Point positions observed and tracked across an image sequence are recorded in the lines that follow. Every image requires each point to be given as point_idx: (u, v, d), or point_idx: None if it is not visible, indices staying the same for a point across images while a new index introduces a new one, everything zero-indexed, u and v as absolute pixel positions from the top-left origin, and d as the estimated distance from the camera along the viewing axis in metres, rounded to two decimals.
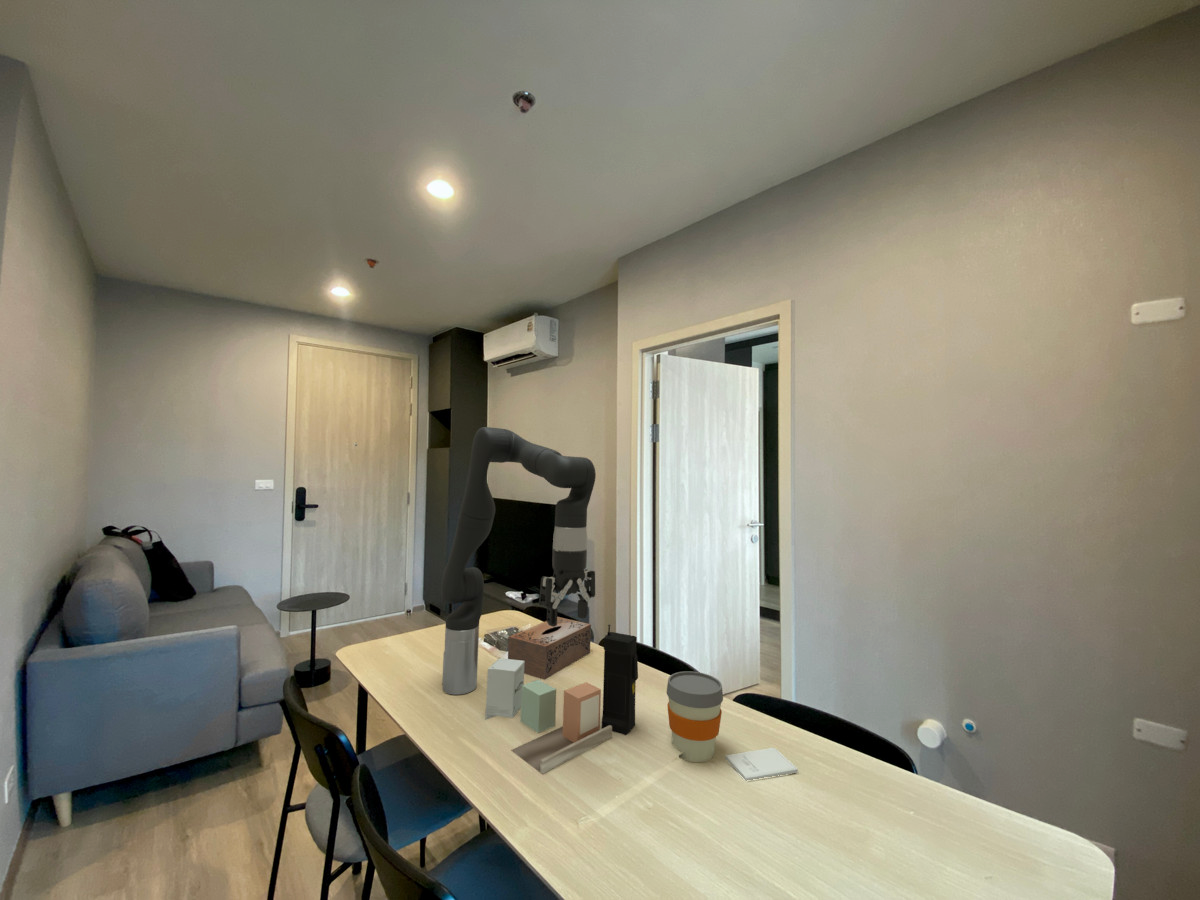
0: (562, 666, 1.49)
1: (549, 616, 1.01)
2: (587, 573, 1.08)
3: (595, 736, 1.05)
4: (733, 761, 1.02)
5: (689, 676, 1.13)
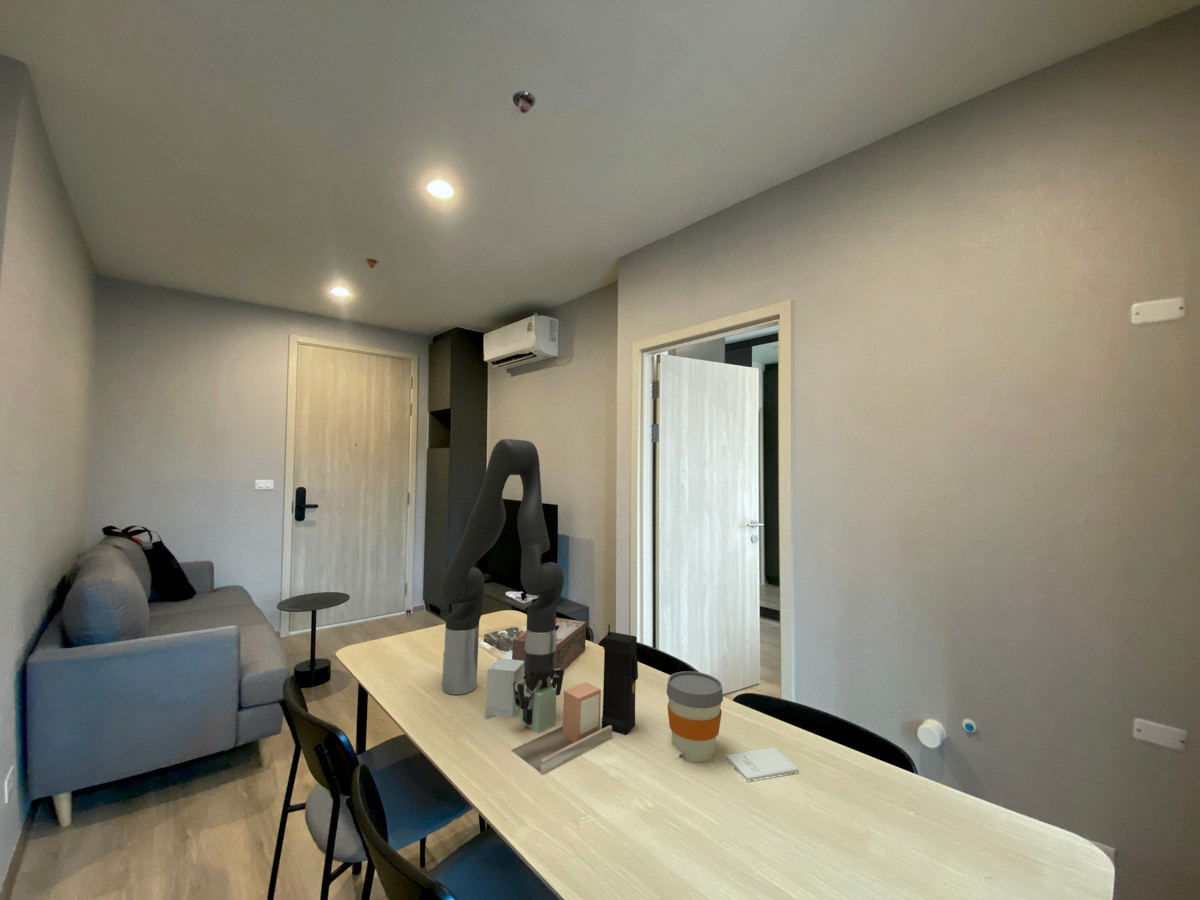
0: (566, 665, 1.50)
1: (525, 716, 1.11)
2: (557, 671, 1.18)
3: (595, 736, 1.05)
4: (734, 761, 1.02)
5: (689, 676, 1.13)
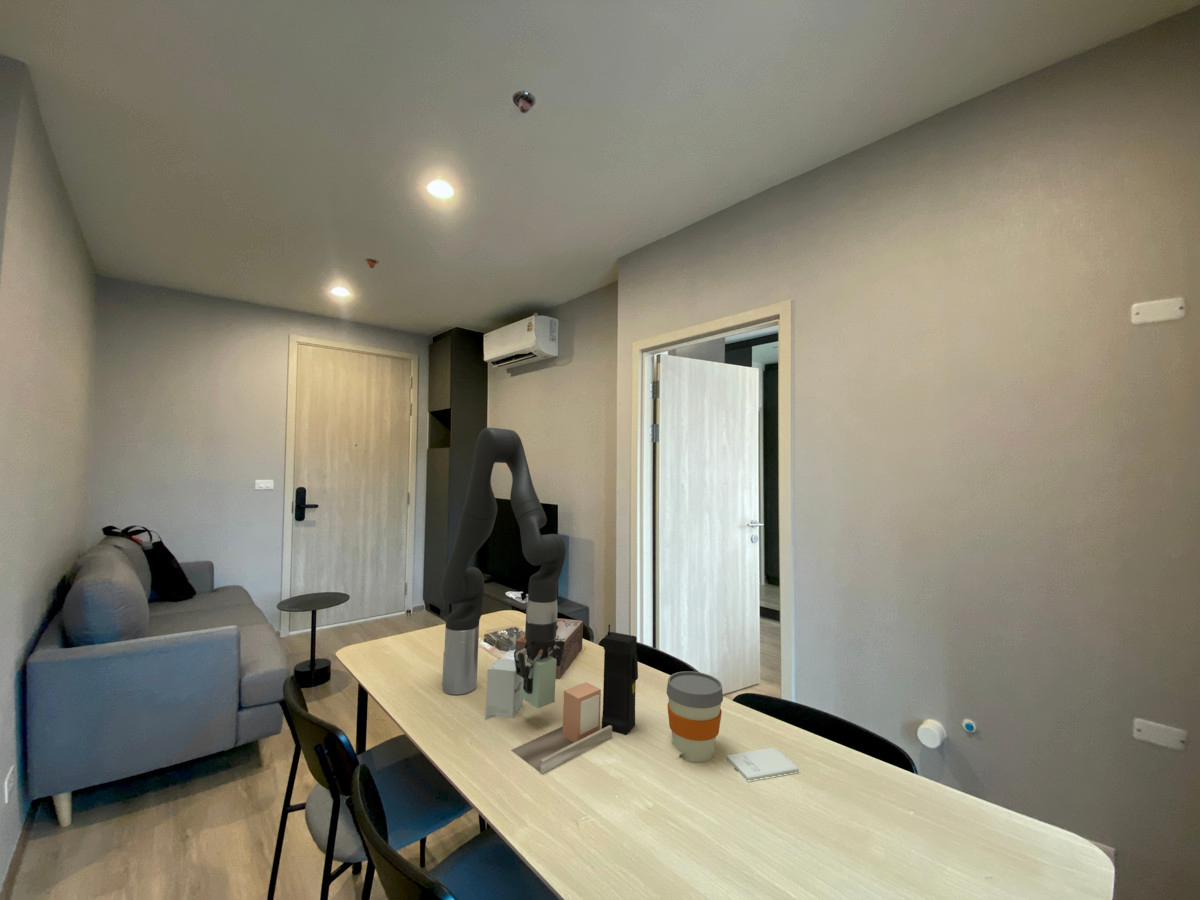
0: (568, 664, 1.51)
1: (525, 685, 1.12)
2: (557, 642, 1.18)
3: (595, 736, 1.05)
4: (734, 761, 1.02)
5: (689, 676, 1.13)
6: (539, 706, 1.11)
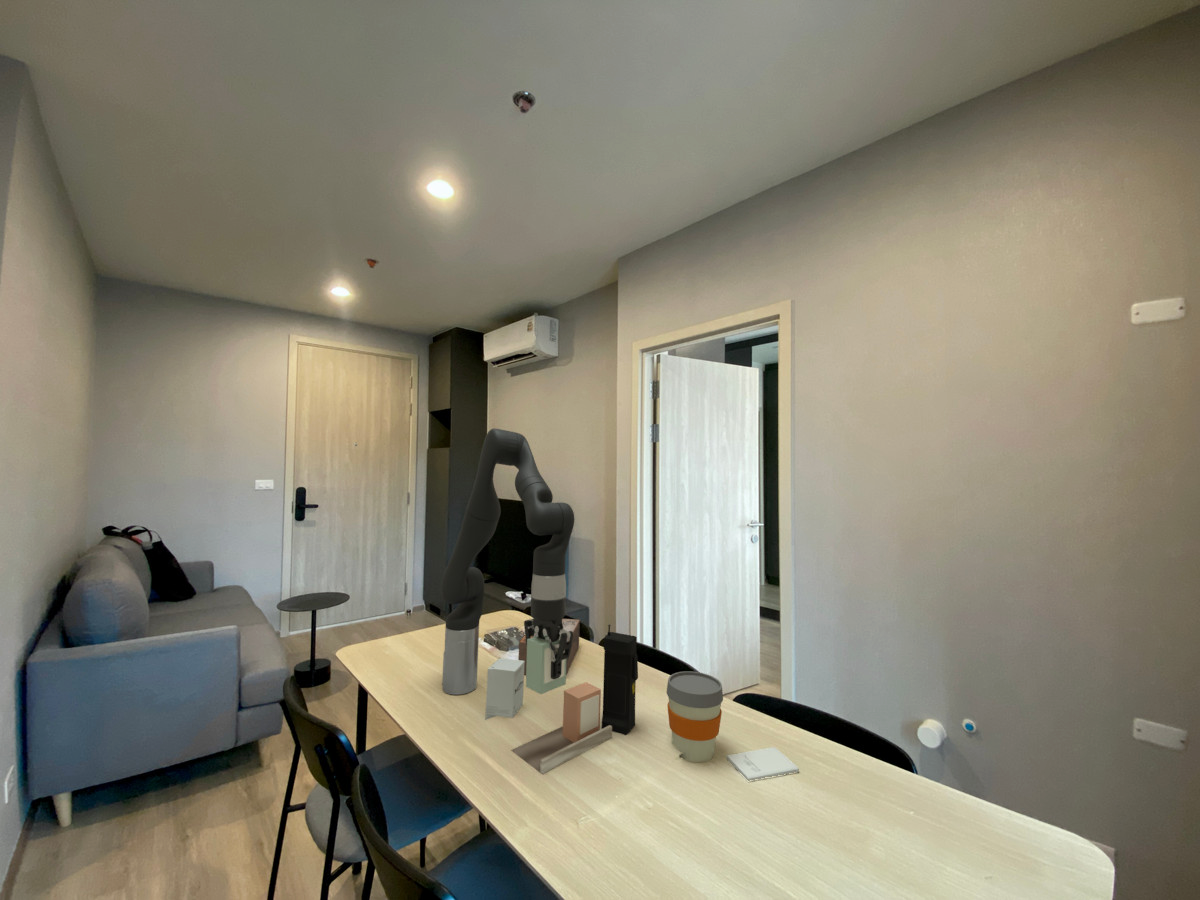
0: (570, 663, 1.52)
1: None
2: (562, 632, 1.00)
3: (595, 736, 1.05)
4: (734, 761, 1.02)
5: (689, 676, 1.13)
6: (527, 685, 1.02)
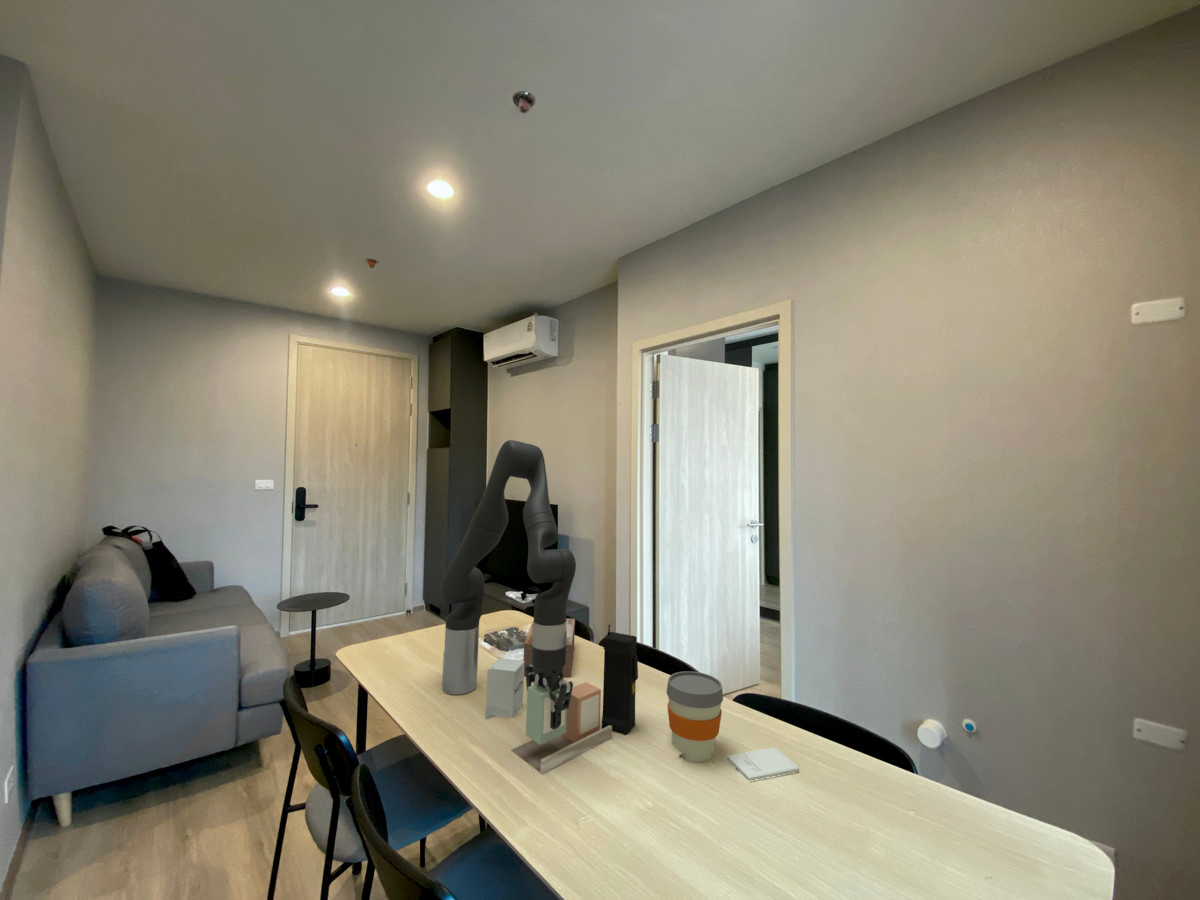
0: None
1: None
2: (561, 683, 0.99)
3: (595, 736, 1.05)
4: (735, 761, 1.02)
5: (689, 676, 1.13)
6: (527, 734, 1.02)
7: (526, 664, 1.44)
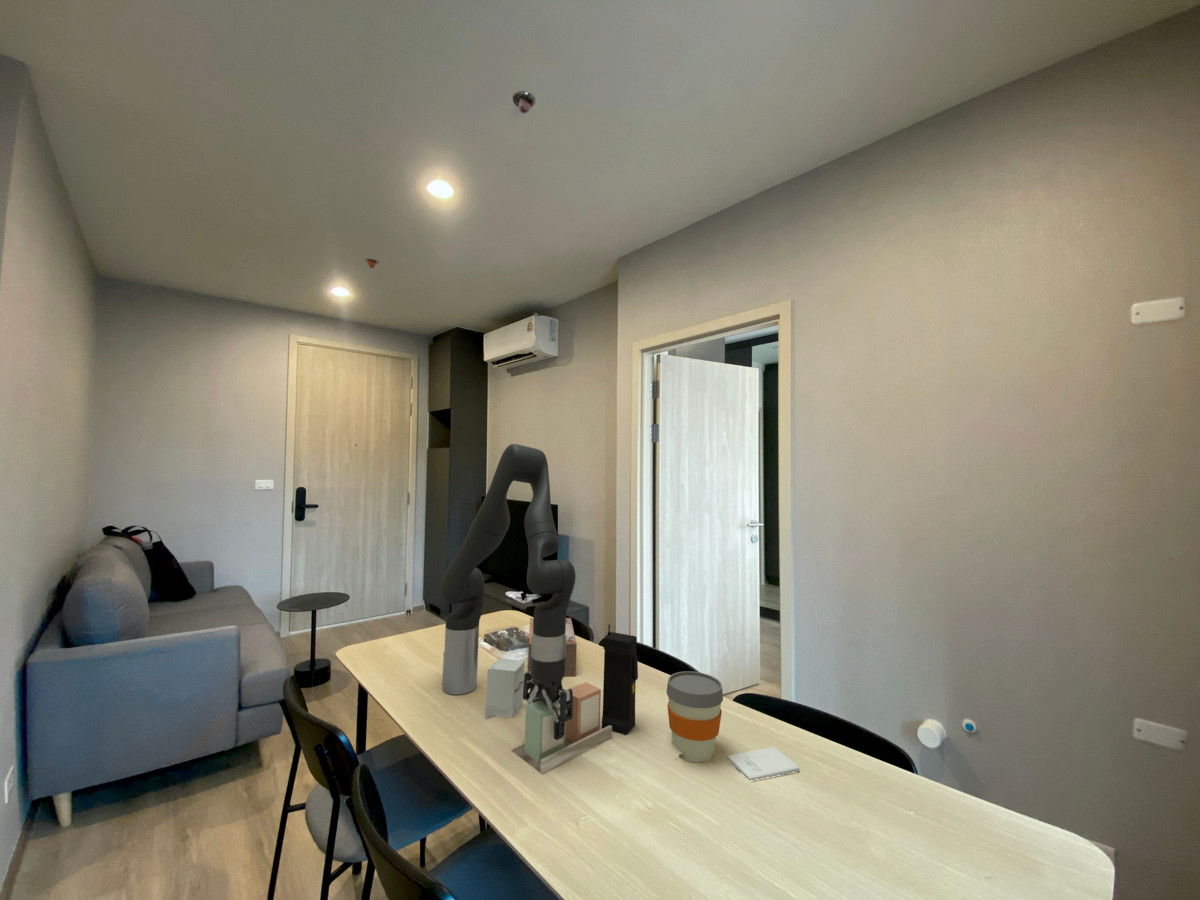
0: None
1: None
2: (561, 692, 0.99)
3: (595, 736, 1.05)
4: (735, 761, 1.02)
5: (689, 676, 1.13)
6: (525, 752, 1.01)
7: None
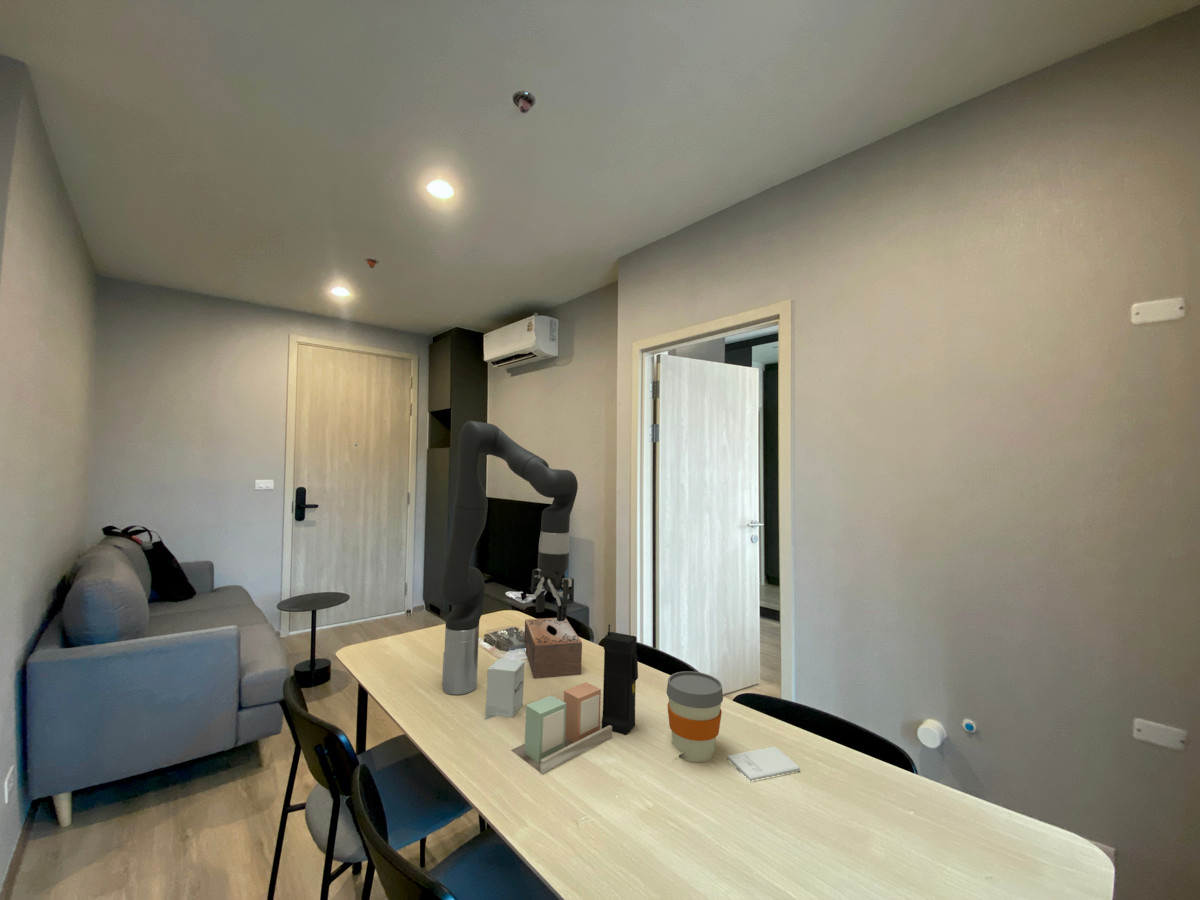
0: None
1: None
2: (564, 580, 1.14)
3: (595, 736, 1.05)
4: (736, 761, 1.02)
5: (689, 676, 1.13)
6: (525, 752, 1.01)
7: (537, 666, 1.42)
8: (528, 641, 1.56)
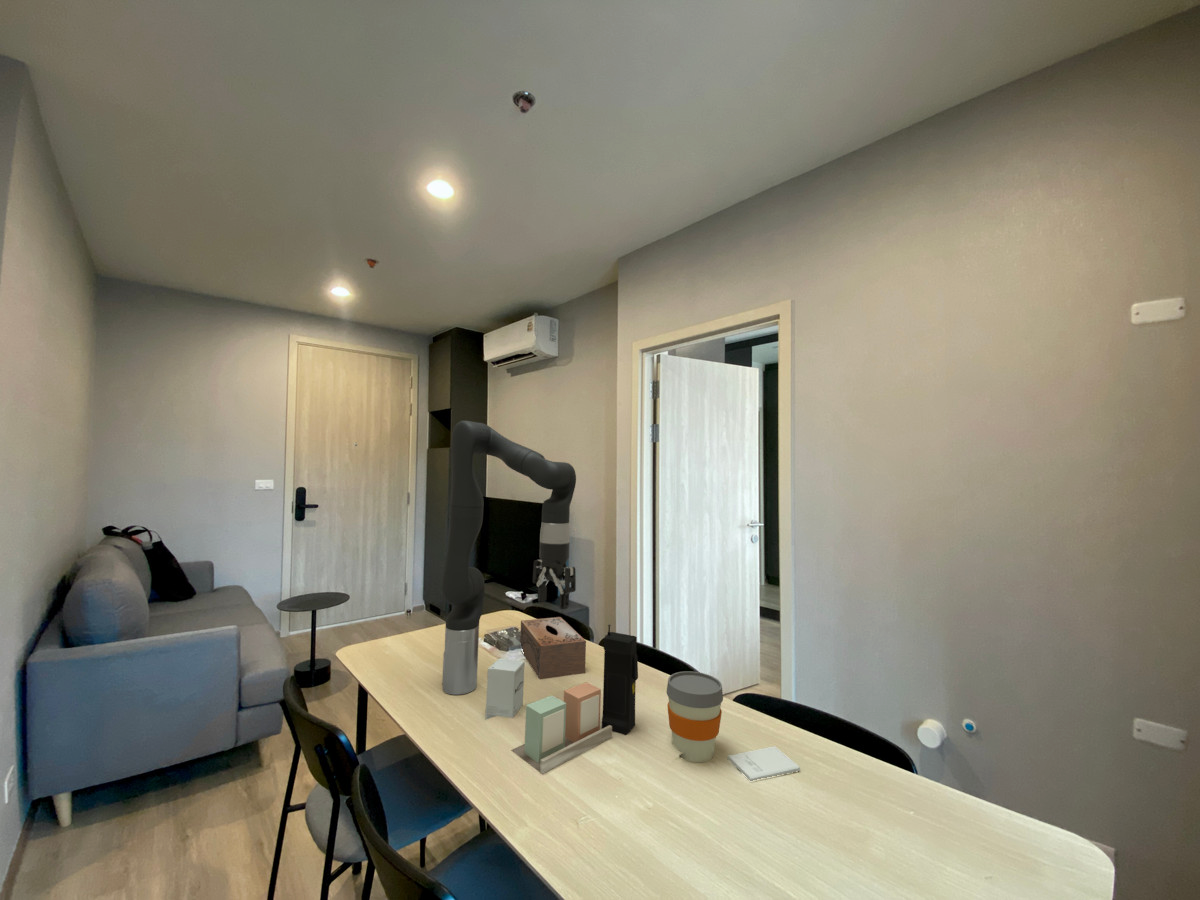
0: None
1: None
2: None
3: (595, 736, 1.05)
4: (736, 761, 1.02)
5: (689, 676, 1.13)
6: (525, 752, 1.01)
7: (543, 666, 1.42)
8: (528, 642, 1.56)
